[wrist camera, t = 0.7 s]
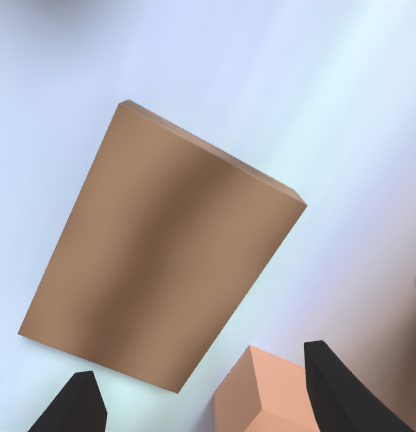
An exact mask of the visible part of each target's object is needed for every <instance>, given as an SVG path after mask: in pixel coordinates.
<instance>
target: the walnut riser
mask: <svg viewBox="0 0 416 432" xmlns="http://www.w3.org/2000/svg"><path fill="white" fill-rule="evenodd" d="M306 207H307V205H306V203H305V202H304V201H303V200H302V199H301V198H300V196H299V195H298V194H297V193H296V192H295V190H293V189H291V188H289V187H288V186H286V185H284V184H282V183H280V182H279V181H277V180H275V179H273V178H271V177H269V176H268V175H266V174H264V173H262V172H260V171H258V170H257V169H255V168H253V167H251V166H249V165H248V164H246V163H244V162H242V161H240V160H238V159H237V158H235V157H233V156H231V155H229V154H227V153H226V152H224V151H222V150H220V149H218V148H216V147H215V146H213V145H211V144H209V143H207V142H206V141H204V140H202V139H200V138H198V137H196V136H195V135H193V134H191V133H189V132H187V131H185V130H184V129H182V128H180V127H178V126H176V125H175V124H173V123H171V122H169V121H167V120H165V119H164V118H162V117H160V116H158V115H156V114H154V113H153V112H151V111H149V110H147V109H145V108H144V107H142V106H140V105H138V104H136V103H134V102H133V101H131V100H127V101H124V102H121V103H119V105H118V107H117V109H116V111H115V114H114V116H113V118H112V121H111V123H110V125H109V127H108V130H107V132H106V134H105V136H104V139H103V141H102V143H101V146H100V148H99V150H98V152H97V155H96V157H95V159H94V161H93V164H92V166H91V168H90V171H89V173H88V175H87V177H86V180H85V182H84V184H83V186H82V189H81V191H80V193H79V196H78V198H77V200H76V202H75V205H74V207H73V209H72V211H71V214H70V216H69V218H68V220H67V223H66V225H65V227H64V230H63V232H62V234H61V236H60V239H59V241H58V243H57V245H56V248H55V250H54V252H53V255H52V257H51V259H50V261H49V264H48V266H47V268H46V270H45V273H44V275H43V277H42V280H41V282H40V284H39V286H38V289H37V291H36V293H35V295H34V298H33V300H32V302H31V305H30V307H29V309H28V311H27V314H26V316H25V318H24V320H23V323H22V325H21V327H20V330H19V332H18V334H19V335H21V336H24V337H27V338H30V339H32V340H35V341H38V342H40V343H43V344H46V345H48V346H51V347H54V348H56V349H59V350H62V351H64V352H67V353H70V354H72V355H75V356H78V357H81V358H83V359H86V360H89V361H91V362H94V363H97V364H99V365H102V366H105V367H107V368H110V369H113V370H115V371H118V372H121V373H124V374H126V375H129V376H132V377H134V378H137V379H140V380H142V381H145V382H148V383H150V384H153V385H156V386H158V387H161V388H164V389H166V390H169V391H172V392H175V393H177V394H178V393H179V391H180V390H181V388H182V387H183V385H184V384H185V382H186V381H187V380H188V378H189V377H190V375H191V374H192V372H193V371H194V369H195V368H196V367H197V365H198V364H199V362H200V361H201V359H202V358H203V356H204V355H205V353H206V352H207V351H208V349H209V348H210V346H211V345H212V343H213V342H214V340H215V339H216V338H217V336H218V335H219V333H220V332H221V330H222V329H223V327H224V326H225V324H226V323H227V322H228V320H229V319H230V317H231V316H232V314H233V313H234V311H235V310H236V308H237V307H238V306H239V304H240V303H241V301H242V300H243V298H244V297H245V295H246V294H247V293H248V291H249V290H250V288H251V287H252V285H253V284H254V282H255V281H256V279H257V278H258V277H259V275H260V274H261V272H262V271H263V269H264V268H265V266H266V265H267V264H268V262H269V261H270V259H271V258H272V256H273V255H274V253H275V252H276V250H277V249H278V248H279V246H280V245H281V243H282V242H283V240H284V239H285V237H286V236H287V234H288V233H289V232H290V230H291V229H292V227H293V226H294V224H295V223H296V221H297V220H298V219H299V217H300V216H301V214H302V213H303V211H304V210H305V208H306Z"/></svg>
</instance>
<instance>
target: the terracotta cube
mask: <svg viewBox="0 0 416 432" xmlns="http://www.w3.org/2000/svg"><path fill="white" fill-rule="evenodd" d="M213 395H214V414H215V432H320V430H319V428H318V425H317V423H316V420H315V417H314V413H313V410H312V407H311V403H310V400H309V396H308V393H307V389H306V375H305V368H303V367H301V366H299V365H296V364H294V363H291V362H289V361H287V360H284V359H282V358H280V357H277V356H275V355H273V354H270V353H268V352H266V351H263V350H261V349H258V348H256V347H254V346H251V345H249V346H248V348H247V349H246V350H245V352H244V353H243V355H242V356H241V357H240V359H239V360H238V361H237V363H236V364H235V365H234V367H233V368H232V369H231V371H230V372H229V374H228V375H227V376H226V378H225V379H224V380H223V382H222V383H221V384H220V386H219V387H218V388H217V390H216V391H215V393H214V394H213Z"/></svg>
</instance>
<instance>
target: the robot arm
mask: <svg viewBox="0 0 416 432" xmlns="http://www.w3.org/2000/svg"><path fill="white" fill-rule="evenodd" d="M304 355H305V375H306V389H307V393H308V396H309V400H310V403H311V407H312V410H313V413H314V417H315V420H316V423H317V425H318V428H319V430H320V432H415V431H414V430H412V429H411V428H410V427H409V426H408V425H406V424H405V423H404V422H403V421H402V420H401V419H399V418H398V417H397V416H396V415H395V414H394V413H393V412H392V411H391V410H389V409H388V408H387V407H386V406H385V405H384V404H383V403H382V402H381V401H380V400H379V399H378V398H377V397H375V396H374V395H373V394H372V393H371V392H370V391H369V390H368V389H367V388H366V387H365V386H364V385H363V384H362V383H361V382H360V381H359V380H358V379H357V378H356V377H355V375H354V374H353V373H352V372H351V371H350V370H349V369H348V368H347V367H346V366H345V365H344V364H343V363H342V361H341V360H340V359H339V358H338V357H337V356H336V355H335V353H334V352H333V351H332V350H331V349H330V348H329V346H328V345H327V344H326V343H325V342H324V341H323V340H320V341H313V342H305V343H304ZM106 420H107V411H106V408H105V405H104V402H103V399H102V396H101V393H100V391H99V388H98V385H97V382H96V379H95V376H94V373H93V371H85V372H78V373H75V374H74V375H73V376H72V377H71V378H70V380H69V381H68V382H67V383H66V385H65V386H64V387H63V388H62V390H61V391H60V392H59V393H58V395H57V396H56V397H55V399H54V400H53V401H52V402H51V404H50V405H49V406H48V407H47V409H46V410H45V411H44V412H43V414H42V415H41V416H40V417H39V419H38V420H37V421H36V422H35V423H34V425H33V426H32V427H31V428H30V430H29V431H28V432H105V427H106Z"/></svg>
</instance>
